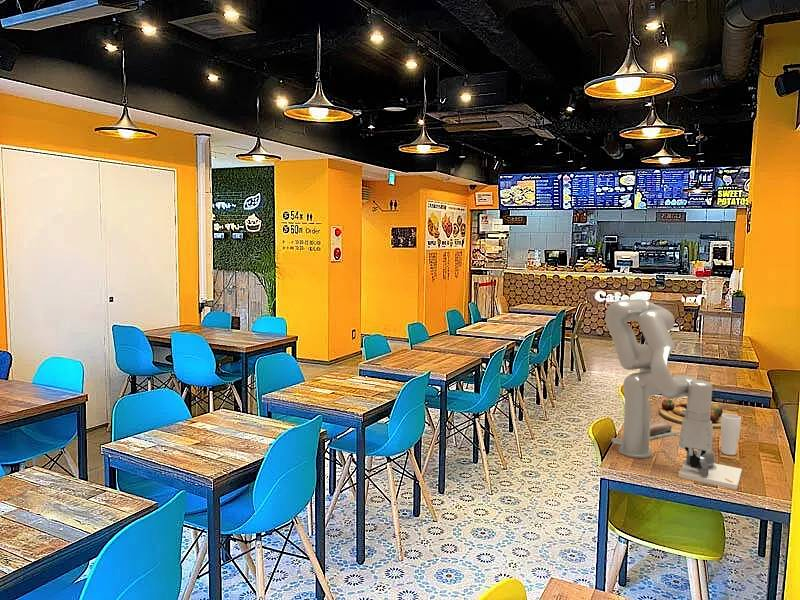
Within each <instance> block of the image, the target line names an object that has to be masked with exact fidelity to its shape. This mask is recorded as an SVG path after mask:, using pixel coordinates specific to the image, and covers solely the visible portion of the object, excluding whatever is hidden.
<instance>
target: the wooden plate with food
mask: <svg viewBox="0 0 800 600" xmlns="http://www.w3.org/2000/svg"><path fill="white" fill-rule="evenodd" d="M686 409H687V402H683V401H679V402H676V403H675V402H674V401H673V400H672V399H671V398H666V397H665V398H664V399H662V401H661V407H660V408H659V410H658V412H659V414H660V416H661V417H662V418H663V419H665V420H668V421H670V422H672V423H675V424H678V425H682V421H683V418H684V417H686V415H684V414H682V410H686ZM722 414H726V412H723V407H722V406H721V405H719V404H718V403H714V404H711V412H710V420H711V421H712V426H713V430H714V429H715V430H721V418H722Z"/></svg>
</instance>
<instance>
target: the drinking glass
mask: <svg viewBox="0 0 800 600" xmlns="http://www.w3.org/2000/svg"><path fill="white" fill-rule="evenodd" d="M741 425H742V417H741V416H740V415H738V414H733V413H725V414H722V418H721V429H720V441H721V442H720V443H721V445H720V452H721V454H724V455H726V456H736V455H737V450H738V446H739V445H738V444H739V439H740V434H741V428H742V427H741Z"/></svg>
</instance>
